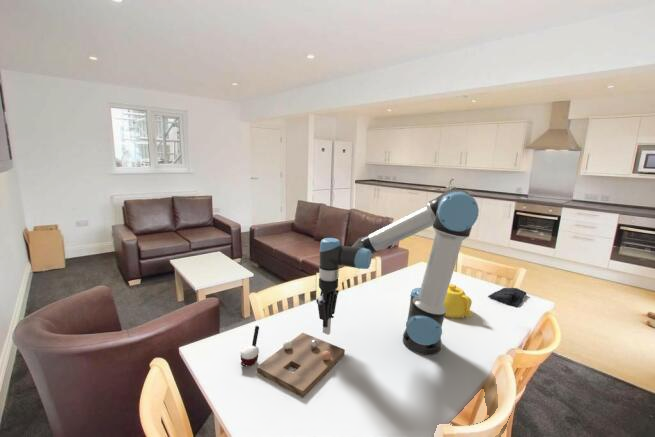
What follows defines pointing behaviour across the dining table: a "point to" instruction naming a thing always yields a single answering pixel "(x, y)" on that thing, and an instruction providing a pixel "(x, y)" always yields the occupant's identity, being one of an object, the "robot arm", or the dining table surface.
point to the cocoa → (250, 351)
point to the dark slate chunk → (509, 296)
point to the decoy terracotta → (326, 355)
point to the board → (300, 364)
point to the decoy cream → (287, 344)
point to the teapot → (457, 303)
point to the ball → (313, 344)
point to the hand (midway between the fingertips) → (326, 332)
